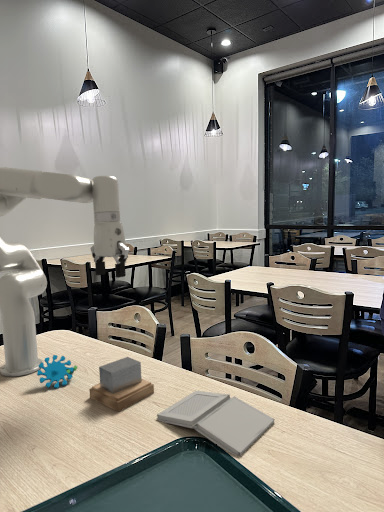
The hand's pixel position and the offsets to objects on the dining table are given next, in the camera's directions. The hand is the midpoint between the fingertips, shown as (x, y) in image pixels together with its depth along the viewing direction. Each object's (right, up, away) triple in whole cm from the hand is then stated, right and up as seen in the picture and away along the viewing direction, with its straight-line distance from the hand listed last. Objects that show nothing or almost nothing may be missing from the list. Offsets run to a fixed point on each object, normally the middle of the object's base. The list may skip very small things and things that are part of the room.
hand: (110, 275), depth 106 cm
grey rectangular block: (+6, -28, -12) cm, 31 cm away
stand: (+6, -31, -12) cm, 34 cm away
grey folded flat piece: (+30, -33, -25) cm, 51 cm away
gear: (-15, -32, -3) cm, 35 cm away
